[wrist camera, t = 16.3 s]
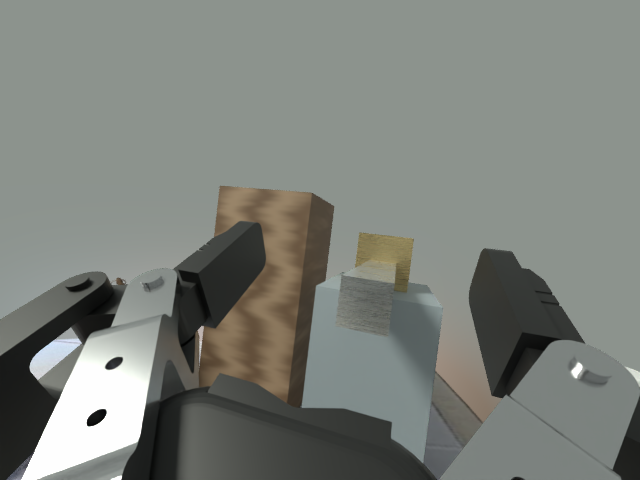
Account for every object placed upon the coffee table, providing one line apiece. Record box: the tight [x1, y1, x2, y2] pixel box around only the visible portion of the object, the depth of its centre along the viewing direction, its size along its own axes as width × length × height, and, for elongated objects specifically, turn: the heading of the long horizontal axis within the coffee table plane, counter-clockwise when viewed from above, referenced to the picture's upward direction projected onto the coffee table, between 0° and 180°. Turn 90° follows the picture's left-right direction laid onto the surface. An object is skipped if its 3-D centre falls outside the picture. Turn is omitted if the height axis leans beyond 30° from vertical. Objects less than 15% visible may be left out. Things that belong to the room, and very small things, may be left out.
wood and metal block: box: [335, 233, 414, 337], centre depth 26 cm, size 6×23×6 cm, turn 164°
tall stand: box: [199, 186, 334, 408], centre depth 44 cm, size 14×13×32 cm
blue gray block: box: [302, 272, 443, 463], centre depth 33 cm, size 12×14×22 cm
